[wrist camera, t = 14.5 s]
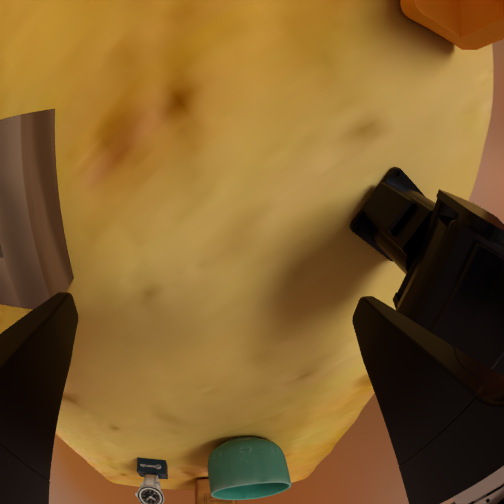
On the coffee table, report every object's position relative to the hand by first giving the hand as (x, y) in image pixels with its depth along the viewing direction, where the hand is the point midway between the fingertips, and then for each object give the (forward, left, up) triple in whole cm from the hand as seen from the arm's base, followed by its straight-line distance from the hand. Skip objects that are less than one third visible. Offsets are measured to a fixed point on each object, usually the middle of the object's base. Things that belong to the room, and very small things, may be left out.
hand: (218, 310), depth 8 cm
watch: (-15, +52, -13) cm, 56 cm away
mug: (-26, +36, -13) cm, 46 cm away
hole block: (+15, +10, -13) cm, 22 cm away
